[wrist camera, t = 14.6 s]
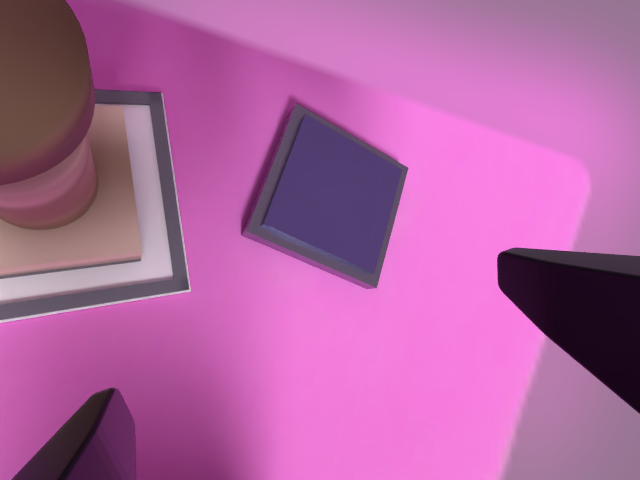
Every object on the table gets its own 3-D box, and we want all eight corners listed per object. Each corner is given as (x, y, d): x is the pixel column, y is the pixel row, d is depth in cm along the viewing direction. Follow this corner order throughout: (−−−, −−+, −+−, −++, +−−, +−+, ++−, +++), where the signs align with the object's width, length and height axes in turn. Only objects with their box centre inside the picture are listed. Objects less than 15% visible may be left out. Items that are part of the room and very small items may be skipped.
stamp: (141, 261, 18) (150, 194, 8) (-28, 282, 15) (-336, 222, 5) (124, 136, 19) (113, -75, 9) (-41, 135, 16) (-340, -172, 6)
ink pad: (367, 288, 23) (380, 287, 22) (241, 234, 20) (248, 229, 19) (398, 173, 26) (412, 165, 24) (290, 111, 23) (299, 99, 22)
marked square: (190, 291, 19) (191, 291, 19) (-91, 338, 15) (-98, 339, 14) (162, 95, 20) (163, 90, 20) (-109, 83, 16) (-116, 76, 15)
